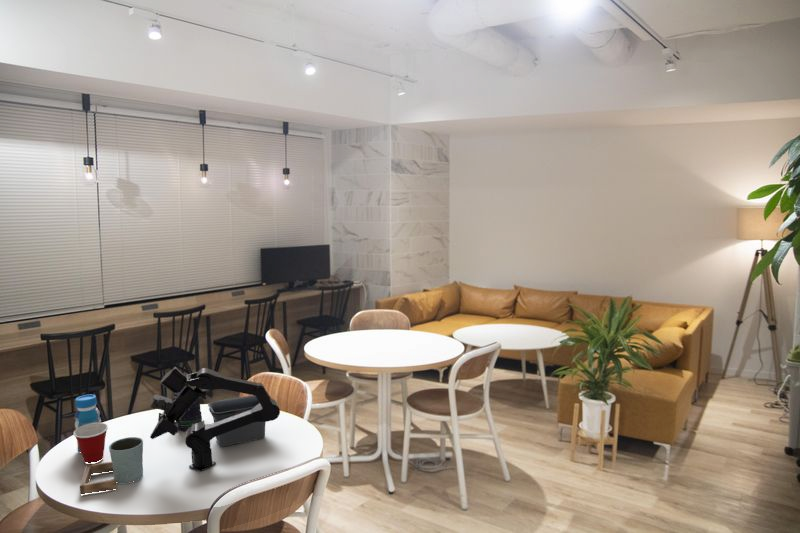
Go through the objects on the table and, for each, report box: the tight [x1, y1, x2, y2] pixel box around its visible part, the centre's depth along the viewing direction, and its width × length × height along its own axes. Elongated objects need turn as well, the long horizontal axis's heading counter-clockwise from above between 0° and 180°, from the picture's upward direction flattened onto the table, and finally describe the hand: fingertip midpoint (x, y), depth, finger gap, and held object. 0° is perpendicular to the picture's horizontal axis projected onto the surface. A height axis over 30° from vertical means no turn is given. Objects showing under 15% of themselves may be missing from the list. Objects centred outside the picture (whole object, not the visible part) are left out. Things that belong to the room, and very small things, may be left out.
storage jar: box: [173, 387, 203, 433], centre depth 236 cm, size 10×10×15 cm
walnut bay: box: [79, 461, 118, 494], centre depth 192 cm, size 10×15×4 cm
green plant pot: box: [108, 436, 144, 484], centre depth 194 cm, size 10×10×12 cm
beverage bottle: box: [74, 394, 102, 453], centre depth 216 cm, size 8×8×20 cm
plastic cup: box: [72, 422, 109, 463], centre depth 208 cm, size 11×11×12 cm
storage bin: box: [207, 395, 266, 447], centre depth 223 cm, size 21×16×14 cm
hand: (151, 437), depth 196 cm, fingers closed
